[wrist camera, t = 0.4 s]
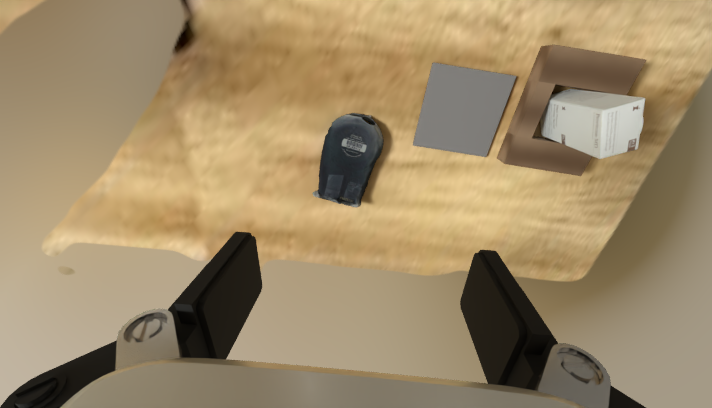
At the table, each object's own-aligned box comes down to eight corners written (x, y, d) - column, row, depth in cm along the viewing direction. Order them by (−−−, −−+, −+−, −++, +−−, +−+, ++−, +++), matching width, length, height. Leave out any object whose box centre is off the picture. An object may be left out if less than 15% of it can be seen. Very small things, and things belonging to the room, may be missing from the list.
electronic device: (366, 197, 51) (391, 121, 42) (360, 214, 46) (386, 132, 38) (320, 182, 51) (335, 103, 43) (309, 196, 47) (324, 112, 38)
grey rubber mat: (432, 62, 39) (433, 62, 38) (514, 76, 39) (516, 76, 38) (412, 144, 44) (413, 145, 44) (484, 156, 44) (485, 157, 44)
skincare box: (538, 97, 40) (599, 108, 29) (572, 87, 39) (647, 94, 28) (540, 137, 42) (596, 161, 32) (571, 128, 41) (641, 149, 31)
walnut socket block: (541, 46, 37) (554, 44, 34) (626, 60, 37) (646, 59, 34) (496, 158, 44) (504, 163, 42) (568, 169, 44) (581, 176, 42)
